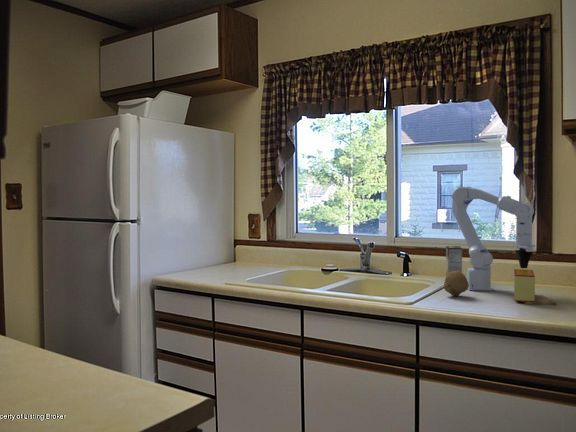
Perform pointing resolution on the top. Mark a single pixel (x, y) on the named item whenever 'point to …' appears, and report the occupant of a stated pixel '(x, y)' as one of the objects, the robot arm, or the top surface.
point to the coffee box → (453, 259)
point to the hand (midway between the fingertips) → (523, 268)
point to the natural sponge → (455, 283)
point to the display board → (541, 301)
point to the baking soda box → (524, 285)
